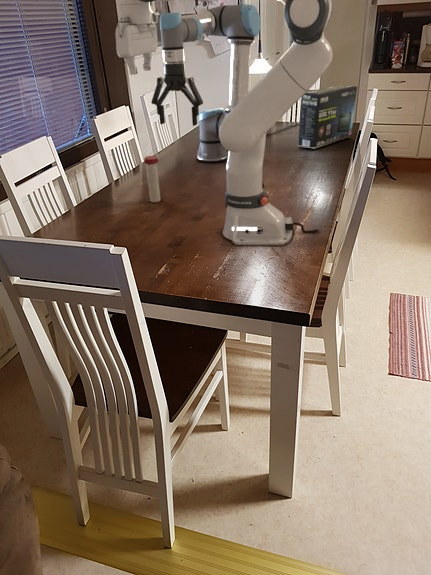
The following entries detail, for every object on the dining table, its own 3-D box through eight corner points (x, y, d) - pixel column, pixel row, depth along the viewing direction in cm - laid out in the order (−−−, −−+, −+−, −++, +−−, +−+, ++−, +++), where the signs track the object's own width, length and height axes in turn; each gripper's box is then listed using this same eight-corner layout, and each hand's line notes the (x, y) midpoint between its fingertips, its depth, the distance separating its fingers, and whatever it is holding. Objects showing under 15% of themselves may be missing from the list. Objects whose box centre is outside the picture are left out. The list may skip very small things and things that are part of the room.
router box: (314, 151, 231) (318, 94, 217) (296, 148, 237) (299, 92, 224) (352, 138, 251) (358, 85, 238) (335, 135, 258) (340, 83, 245)
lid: (153, 164, 168) (152, 160, 167) (141, 163, 170) (141, 158, 169) (160, 161, 172) (160, 156, 171) (149, 160, 174) (149, 155, 173)
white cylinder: (156, 202, 177) (152, 160, 168) (148, 201, 178) (143, 159, 170) (162, 199, 180) (158, 157, 171) (153, 197, 181) (149, 156, 173)
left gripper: (138, 64, 165) (145, 125, 176) (202, 63, 157) (205, 127, 168) (148, 61, 171) (154, 120, 182) (210, 61, 163) (212, 123, 174)
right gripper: (128, 17, 116) (135, 76, 124) (159, 15, 133) (163, 68, 140) (106, 18, 118) (114, 76, 125) (139, 16, 135) (144, 68, 142)
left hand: (178, 124), depth 175 cm, fingers open, 13 cm apart
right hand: (140, 72), depth 133 cm, fingers open, 8 cm apart
